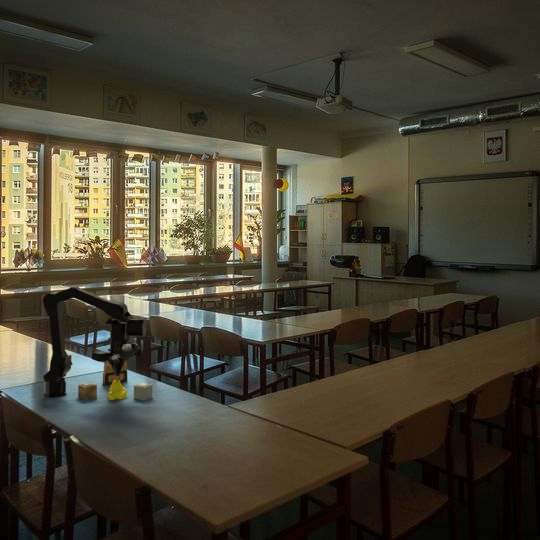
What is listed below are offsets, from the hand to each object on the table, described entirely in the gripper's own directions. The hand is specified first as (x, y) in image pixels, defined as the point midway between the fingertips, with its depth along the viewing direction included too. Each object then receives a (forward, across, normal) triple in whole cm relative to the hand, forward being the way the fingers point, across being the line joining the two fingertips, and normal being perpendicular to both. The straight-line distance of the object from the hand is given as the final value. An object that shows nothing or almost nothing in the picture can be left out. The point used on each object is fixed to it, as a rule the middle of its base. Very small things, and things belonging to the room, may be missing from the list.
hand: (117, 375), depth 203 cm
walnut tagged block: (+8, -8, +7) cm, 14 cm away
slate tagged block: (+8, +7, -7) cm, 13 cm away
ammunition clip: (+8, +10, +18) cm, 22 cm away
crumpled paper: (+9, 0, 0) cm, 9 cm away
